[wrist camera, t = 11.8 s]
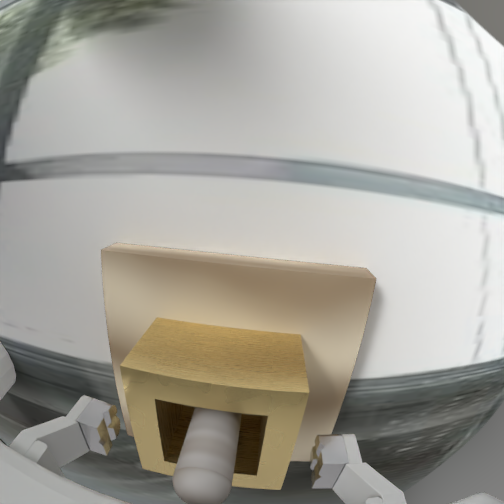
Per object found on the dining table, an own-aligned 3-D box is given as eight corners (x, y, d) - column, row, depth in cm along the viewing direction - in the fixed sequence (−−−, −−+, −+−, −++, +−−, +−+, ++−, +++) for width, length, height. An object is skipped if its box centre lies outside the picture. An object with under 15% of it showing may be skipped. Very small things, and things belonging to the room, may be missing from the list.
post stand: (116, 242, 14) (-13, 310, 6) (366, 268, 14) (460, 374, 5) (135, 420, 17) (86, 517, 9) (317, 444, 17) (330, 556, 8)
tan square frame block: (156, 317, 13) (119, 365, 9) (300, 334, 13) (309, 392, 9) (164, 416, 15) (142, 468, 11) (280, 432, 14) (280, 489, 11)
